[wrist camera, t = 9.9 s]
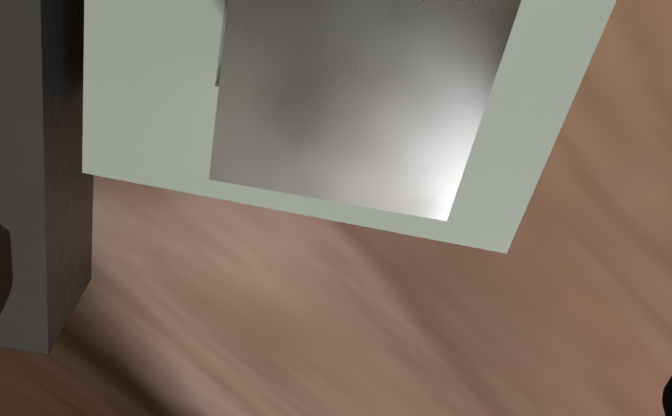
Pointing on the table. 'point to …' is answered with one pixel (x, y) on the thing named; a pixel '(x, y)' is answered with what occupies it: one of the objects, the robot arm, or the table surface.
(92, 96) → the dock
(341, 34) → the pin
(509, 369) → the table surface
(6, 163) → the mount
